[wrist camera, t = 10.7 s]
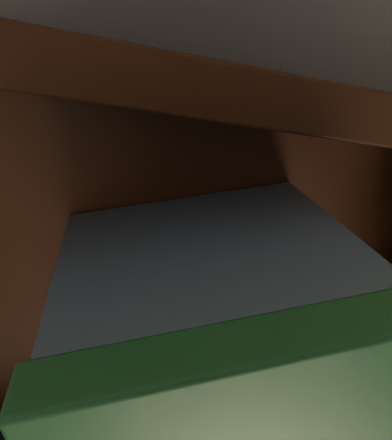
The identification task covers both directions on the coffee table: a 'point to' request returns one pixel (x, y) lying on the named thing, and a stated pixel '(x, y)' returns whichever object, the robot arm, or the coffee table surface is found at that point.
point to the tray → (164, 148)
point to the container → (210, 326)
